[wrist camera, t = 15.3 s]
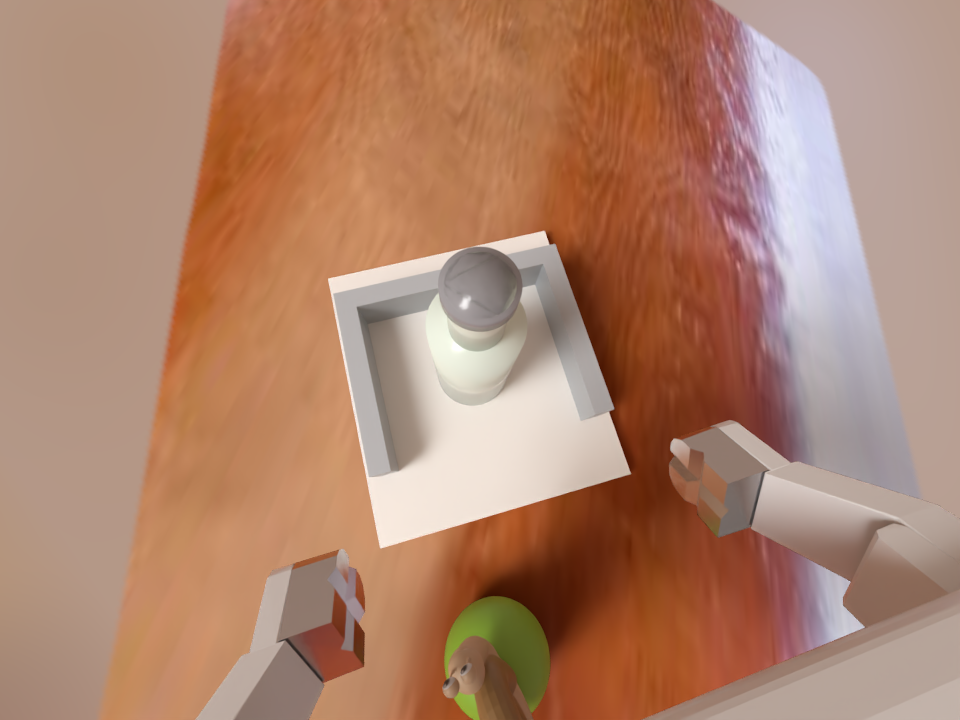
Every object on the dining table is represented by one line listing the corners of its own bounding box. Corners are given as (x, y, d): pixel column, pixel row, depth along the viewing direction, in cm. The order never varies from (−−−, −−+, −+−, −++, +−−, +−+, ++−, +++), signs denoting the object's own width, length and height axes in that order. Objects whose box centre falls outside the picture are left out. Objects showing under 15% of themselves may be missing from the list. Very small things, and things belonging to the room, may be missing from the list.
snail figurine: (495, 550, 25) (524, 619, 13) (557, 649, 23) (651, 823, 12) (419, 607, 24) (379, 736, 12) (480, 713, 22) (500, 972, 11)
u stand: (625, 473, 26) (652, 474, 23) (382, 546, 24) (368, 559, 21) (542, 236, 31) (553, 205, 27) (331, 283, 29) (312, 256, 25)
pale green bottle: (514, 395, 26) (561, 328, 14) (446, 413, 26) (432, 360, 13) (495, 331, 28) (523, 216, 15) (430, 347, 27) (402, 242, 15)
